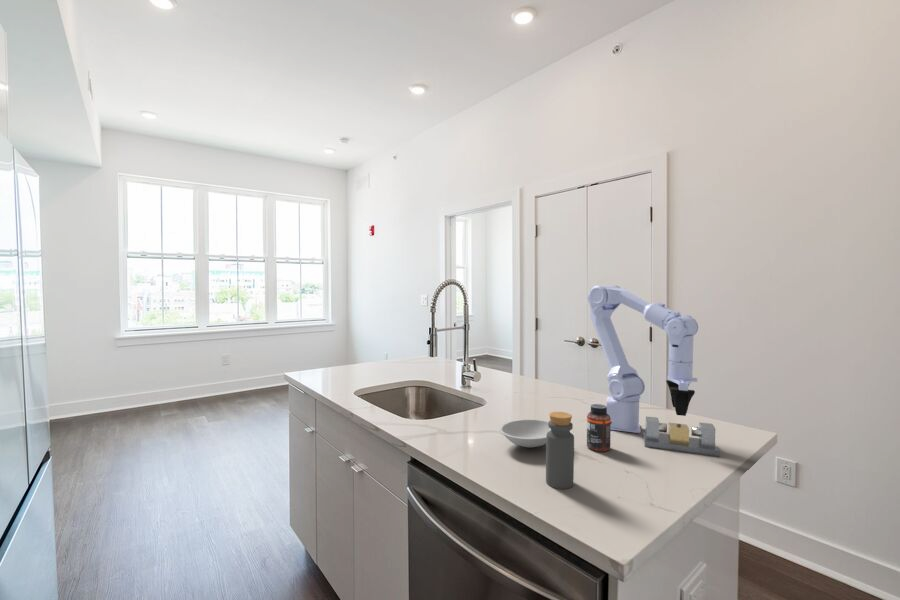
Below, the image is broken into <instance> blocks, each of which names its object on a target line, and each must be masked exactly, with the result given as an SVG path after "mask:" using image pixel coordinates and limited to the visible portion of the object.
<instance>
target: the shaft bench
mask: <svg viewBox="0 0 900 600" xmlns="http://www.w3.org/2000/svg"><path fill="white" fill-rule="evenodd" d="M698 425H699V426H691V427H690V434H691V437H690V436H689V444H683V443H675V442H670V440H669V437H668V424H667V423H666V422H665V423H664V422H660V420H659V417H656V416H654V417H653V416H645V431H642V439H643V445H644V447H646V448H654V449H660V450H667V451H674V452H682V453H690V454H697V455H703V456H711V457H720V455H719V454H720V450H719V448H718V447H717V445H716V426H714V424H713V423H710V422H701V421H700V422H699V423H698Z"/></svg>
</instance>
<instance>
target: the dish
mask: <svg viewBox="0 0 900 600" xmlns="http://www.w3.org/2000/svg"><path fill="white" fill-rule="evenodd" d="M549 421H550V420H544V419H535V418H525V419H524V418H522V419H521V418H520V419H515V420H510V421H507V422H505V423H503V424H501V425H500V426H499V429H498V431H499V432H500V434H501V435H503V437H505V438H506V439H507V440H508V441H509V442H511V443H512V444H514V445H516V446H519V447H523V448H530V449H532V448H536V447H541V446H544V445H546V436H547V433H548V432H549V431H551V428H549V426H548V422H549Z"/></svg>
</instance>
